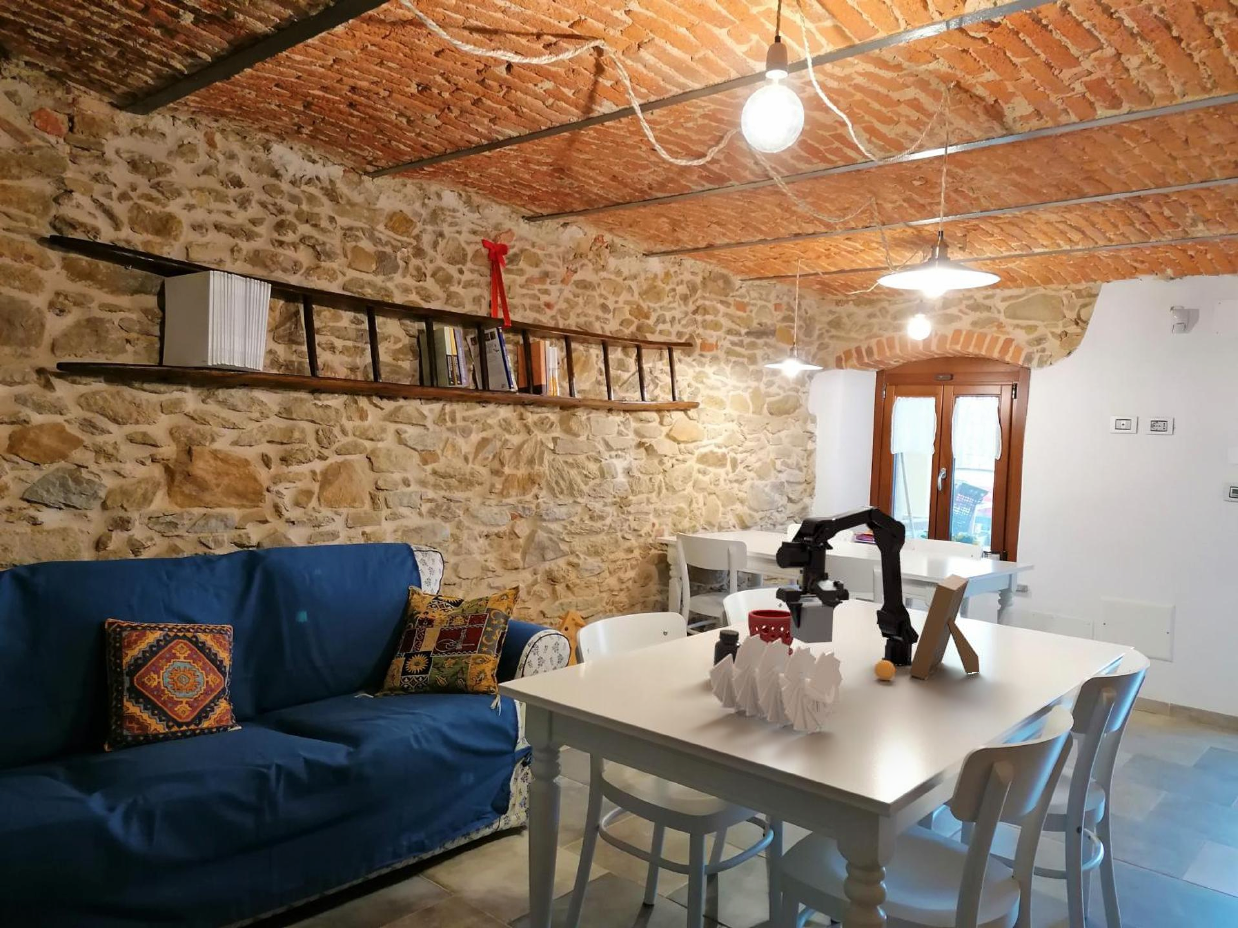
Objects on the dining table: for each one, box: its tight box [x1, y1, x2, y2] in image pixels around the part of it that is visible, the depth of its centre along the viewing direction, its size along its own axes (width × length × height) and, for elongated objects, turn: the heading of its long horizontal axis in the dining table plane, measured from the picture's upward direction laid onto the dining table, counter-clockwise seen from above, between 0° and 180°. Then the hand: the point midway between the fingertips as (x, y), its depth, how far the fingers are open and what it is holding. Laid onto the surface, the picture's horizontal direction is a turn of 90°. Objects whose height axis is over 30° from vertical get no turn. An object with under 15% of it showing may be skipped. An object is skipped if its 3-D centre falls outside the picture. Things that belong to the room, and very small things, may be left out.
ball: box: [874, 659, 896, 681], centre depth 216 cm, size 5×5×5 cm
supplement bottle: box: [712, 629, 742, 668], centre depth 211 cm, size 7×7×12 cm
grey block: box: [790, 601, 835, 644], centre depth 220 cm, size 8×8×9 cm
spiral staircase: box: [708, 634, 843, 736], centre depth 180 cm, size 18×18×25 cm
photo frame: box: [908, 573, 980, 680], centre depth 224 cm, size 15×22×25 cm
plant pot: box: [747, 609, 795, 657], centre depth 236 cm, size 13×13×12 cm
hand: (811, 627), depth 220 cm, fingers closed on grey block, 8 cm apart
